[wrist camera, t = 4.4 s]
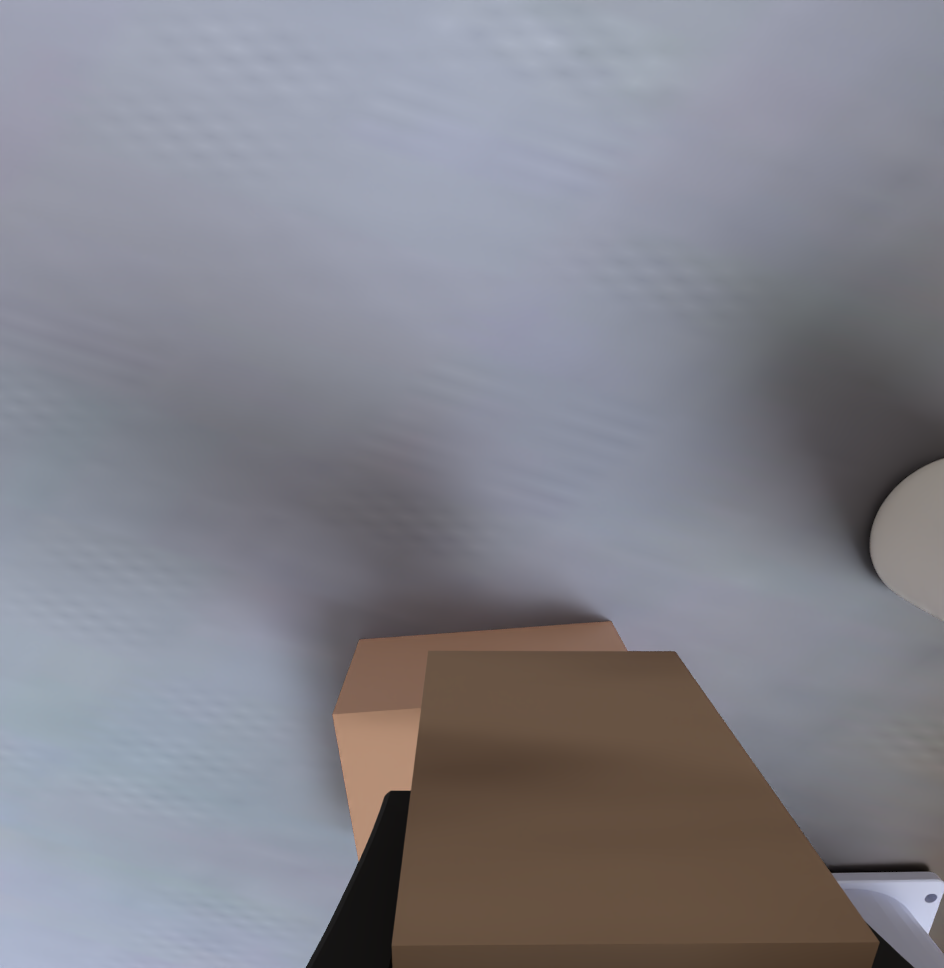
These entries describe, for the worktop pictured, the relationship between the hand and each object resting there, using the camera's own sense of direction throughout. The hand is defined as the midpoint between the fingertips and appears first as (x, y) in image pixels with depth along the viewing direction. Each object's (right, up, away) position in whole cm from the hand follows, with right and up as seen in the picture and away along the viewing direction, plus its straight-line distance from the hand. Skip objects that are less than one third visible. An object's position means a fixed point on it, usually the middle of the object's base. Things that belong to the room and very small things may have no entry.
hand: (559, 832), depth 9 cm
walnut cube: (0, +1, +1) cm, 2 cm away
